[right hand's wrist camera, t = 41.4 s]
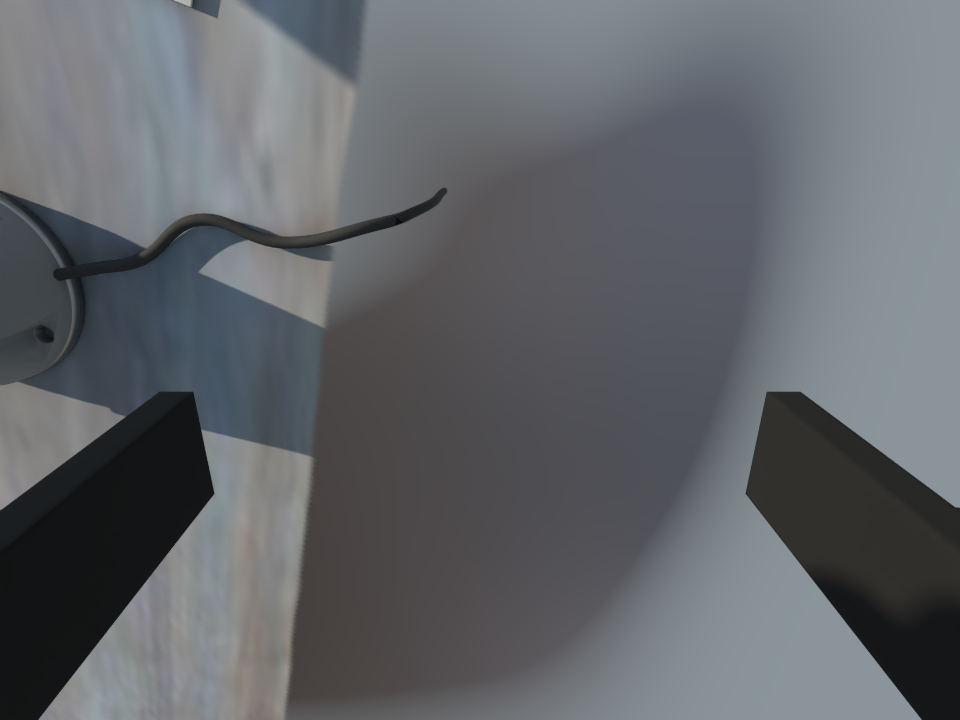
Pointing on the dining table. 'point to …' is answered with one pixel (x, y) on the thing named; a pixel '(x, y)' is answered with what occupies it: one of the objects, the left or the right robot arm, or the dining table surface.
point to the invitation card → (185, 2)
